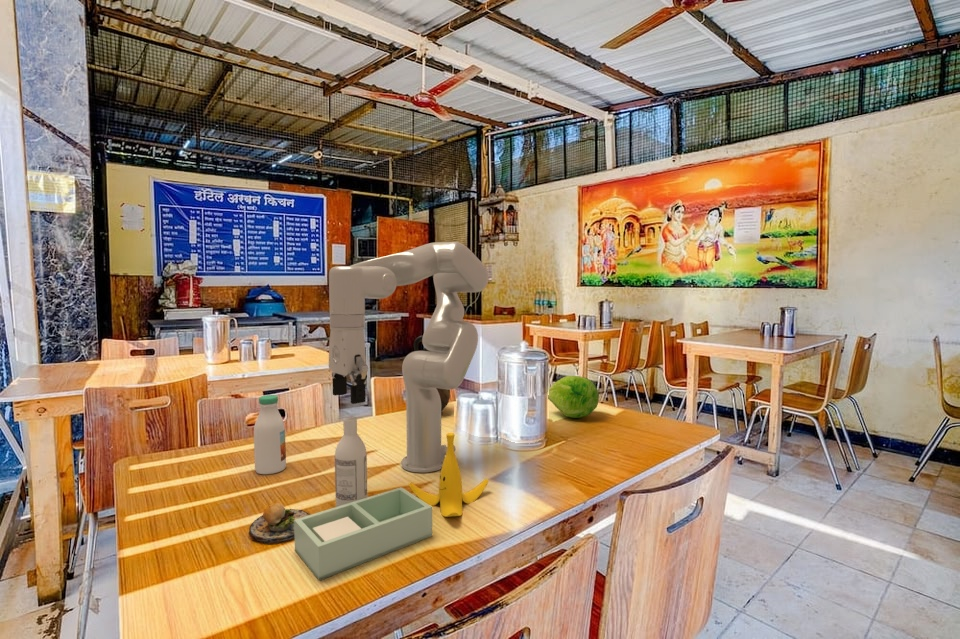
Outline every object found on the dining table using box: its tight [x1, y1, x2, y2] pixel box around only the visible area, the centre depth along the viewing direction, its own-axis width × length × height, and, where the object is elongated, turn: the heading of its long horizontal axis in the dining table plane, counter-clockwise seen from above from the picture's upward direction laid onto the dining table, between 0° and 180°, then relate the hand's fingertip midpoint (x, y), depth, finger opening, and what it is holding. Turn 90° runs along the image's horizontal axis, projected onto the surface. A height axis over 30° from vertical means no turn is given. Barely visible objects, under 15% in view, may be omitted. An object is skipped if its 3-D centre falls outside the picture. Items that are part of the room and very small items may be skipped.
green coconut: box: [547, 375, 600, 419], centre depth 182 cm, size 17×20×16 cm
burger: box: [248, 501, 311, 545], centre depth 99 cm, size 12×12×8 cm
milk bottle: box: [253, 394, 287, 475], centre depth 130 cm, size 8×8×20 cm
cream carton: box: [312, 517, 361, 542], centre depth 91 cm, size 7×7×4 cm
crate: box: [294, 486, 433, 582], centre depth 94 cm, size 23×12×6 cm, turn 129°
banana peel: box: [408, 432, 490, 518], centre depth 112 cm, size 17×19×17 cm
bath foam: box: [334, 416, 368, 507], centre depth 110 cm, size 7×7×20 cm
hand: (348, 398), depth 109 cm, fingers open, 9 cm apart
